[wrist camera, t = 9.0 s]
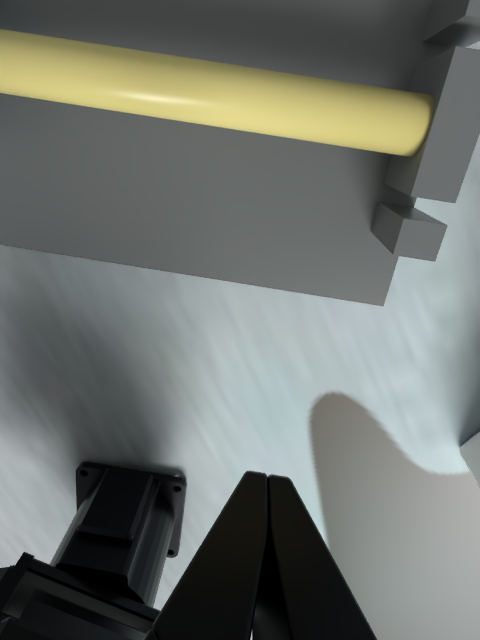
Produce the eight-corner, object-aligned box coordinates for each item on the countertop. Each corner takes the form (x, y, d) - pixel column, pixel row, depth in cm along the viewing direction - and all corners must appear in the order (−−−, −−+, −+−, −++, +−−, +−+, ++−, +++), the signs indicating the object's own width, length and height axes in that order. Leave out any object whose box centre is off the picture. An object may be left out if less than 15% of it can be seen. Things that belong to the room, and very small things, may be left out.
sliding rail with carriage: (378, 298, 19) (418, 363, 14) (-171, 210, 20) (-342, 239, 14) (497, -102, 14) (648, -261, 8) (-283, -216, 14) (-644, -442, 8)
